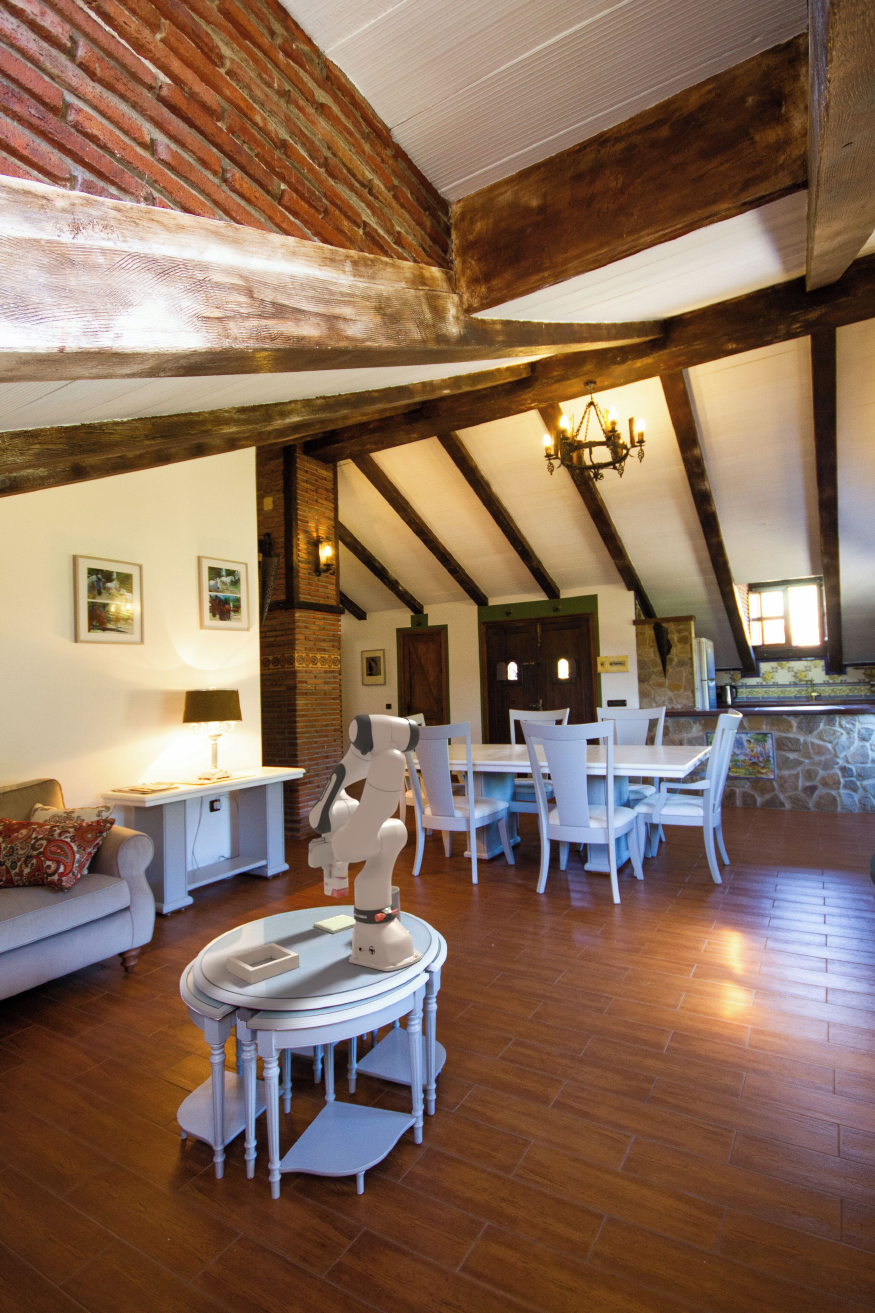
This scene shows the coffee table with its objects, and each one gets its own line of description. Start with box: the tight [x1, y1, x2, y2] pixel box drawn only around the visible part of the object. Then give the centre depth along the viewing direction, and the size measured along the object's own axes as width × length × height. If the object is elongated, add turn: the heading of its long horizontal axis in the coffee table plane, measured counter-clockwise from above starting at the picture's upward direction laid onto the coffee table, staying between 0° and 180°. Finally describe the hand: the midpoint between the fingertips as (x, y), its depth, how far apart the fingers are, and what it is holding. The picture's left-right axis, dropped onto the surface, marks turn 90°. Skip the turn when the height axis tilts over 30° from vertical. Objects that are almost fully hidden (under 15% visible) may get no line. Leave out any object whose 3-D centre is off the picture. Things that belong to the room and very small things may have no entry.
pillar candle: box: [391, 885, 402, 924], centre depth 214 cm, size 10×10×15 cm
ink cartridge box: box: [323, 853, 350, 899], centre depth 225 cm, size 9×5×15 cm, turn 43°
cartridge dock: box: [225, 942, 300, 985], centre depth 188 cm, size 15×15×4 cm
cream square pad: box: [313, 913, 355, 935], centre depth 223 cm, size 12×12×1 cm
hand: (336, 875), depth 224 cm, fingers closed on ink cartridge box, 5 cm apart
